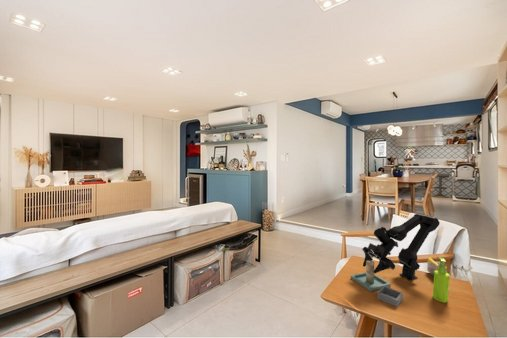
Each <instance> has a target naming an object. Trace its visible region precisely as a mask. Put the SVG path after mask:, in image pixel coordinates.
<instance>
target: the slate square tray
mask: <svg viewBox="0 0 507 338" xmlns="http://www.w3.org/2000/svg"><path fill="white" fill-rule="evenodd" d="M376 295H377V300H379V301H382V302H384V303H387V304H389V305H390V306H391V305H392V306H394V307H396V308H398V306H399V305H400V303H401V302H402V301H403V300H404V299H403V298H404V292H401V291H399V290H396V289H394V288H391V287H386V286H383V287H382V288H381V289H378V290H377V294H376Z"/></svg>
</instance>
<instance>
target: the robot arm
mask: <svg viewBox="0 0 507 338" xmlns="http://www.w3.org/2000/svg"><path fill="white" fill-rule="evenodd" d="M440 224H441V223H440V221H439V218H437V217H434V216H430V215H427V214H426V215H425V214H420V213H415V214H414V215H413V216H412V217H410V218H409V219H407V220H406V221H405V222H403V223H402V224H401V225H396V226H395V225H394V226H393V227H391V228H389V229H386V227H384V226H381V227H380V228H379V227H378V228H376V229H375V230H374V232H373V235H374V236H375V238H376V239H377V240H378V241H379V243H380V244H379V243H378V244H377V245H376V244H373V243H371V242H370V243H369V244H368V247H367V246H363V248H362V251H363V253H364V259H363V263H362V266H363V267H364V268H366V261H373V260H374V258H375V259H377V260H379V261H378V265H377V266H376V267H374V271H373V273H374V274H377V273H380V272H383V271H385V270H390V269H391V270H393V271H394V270H395V268H396V264H395V263H394V262H393V260H392V259H390V258H388V256H391V255H392V253H391V251H392V250H393V249H394V247H396V248H399V243H398V242H402V241H403V240H404V239H405V238H407V235H408V233H409V232H411V231H412V230H414V229H415V228H417V227H418V226H419V229H418V230H417V232H416V234H415V235H414V237H413V239H412V240H411V242H410V244H409V245H408V246H407V248H404V247H402V249H401V250H400V251H399V252H398V254H397V255H398V256H397V257H398V262H399V264H400V265H402V269H401V273H399V275H400V276H401V277H403V278H405V279H407V280H409V281H411V280H416V279H418V276H416V271H418V270H420V266H421V265H420V264H419V263H418V252H419V251H420V249H421V247H422V246H423V244H424V243H425V241H426V239H427V238H428V236H429V234H430V233H432V232H434V231H436V230H437V228H438V227H439V226H440Z"/></svg>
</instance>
